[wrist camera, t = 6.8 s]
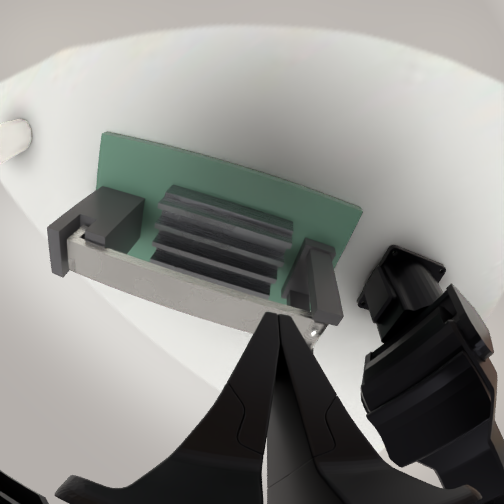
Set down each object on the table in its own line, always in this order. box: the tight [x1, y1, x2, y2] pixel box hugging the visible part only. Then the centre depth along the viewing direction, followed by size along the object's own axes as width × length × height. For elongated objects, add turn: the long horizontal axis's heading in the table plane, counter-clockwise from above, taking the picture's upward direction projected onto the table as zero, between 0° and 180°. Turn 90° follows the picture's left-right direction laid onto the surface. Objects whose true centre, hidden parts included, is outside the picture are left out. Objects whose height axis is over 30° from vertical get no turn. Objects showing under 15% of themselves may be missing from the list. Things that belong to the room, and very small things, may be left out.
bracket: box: [281, 238, 344, 353], centre depth 20 cm, size 2×5×8 cm, turn 163°
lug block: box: [47, 186, 145, 277], centre depth 19 cm, size 4×4×7 cm
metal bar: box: [67, 225, 328, 350], centre depth 18 cm, size 17×2×2 cm, turn 73°
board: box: [96, 132, 363, 311], centre depth 23 cm, size 20×12×1 cm, turn 73°
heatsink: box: [150, 185, 294, 300], centre depth 22 cm, size 9×7×3 cm
